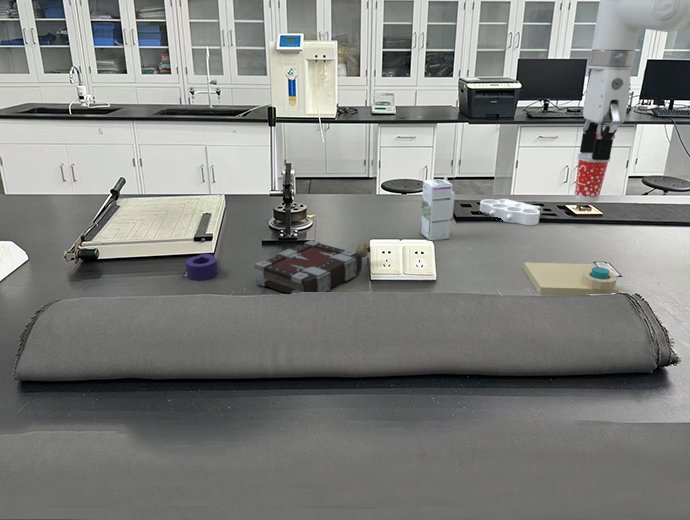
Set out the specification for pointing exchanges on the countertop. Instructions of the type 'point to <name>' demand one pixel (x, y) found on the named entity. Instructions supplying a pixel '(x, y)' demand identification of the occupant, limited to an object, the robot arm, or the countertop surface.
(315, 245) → the book
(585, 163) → the beverage cup
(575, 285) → the scale
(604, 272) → the button
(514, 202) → the white tube rack
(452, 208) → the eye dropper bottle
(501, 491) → the countertop surface
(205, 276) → the purple thick ring
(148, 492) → the countertop surface
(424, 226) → the syrup box
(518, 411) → the countertop surface
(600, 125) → the robot arm
